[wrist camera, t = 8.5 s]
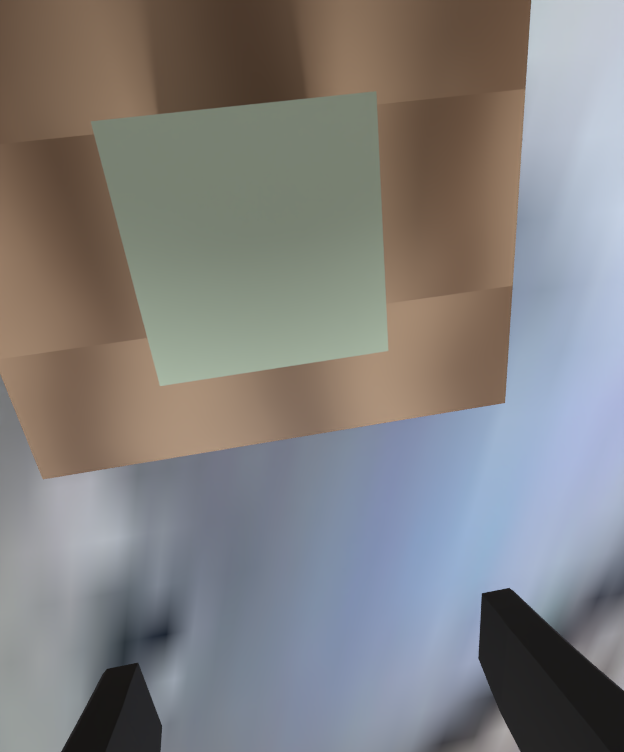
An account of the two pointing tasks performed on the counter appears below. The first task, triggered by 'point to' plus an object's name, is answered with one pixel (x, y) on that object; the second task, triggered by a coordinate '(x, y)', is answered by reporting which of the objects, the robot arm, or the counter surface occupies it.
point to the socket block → (235, 88)
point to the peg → (252, 232)
